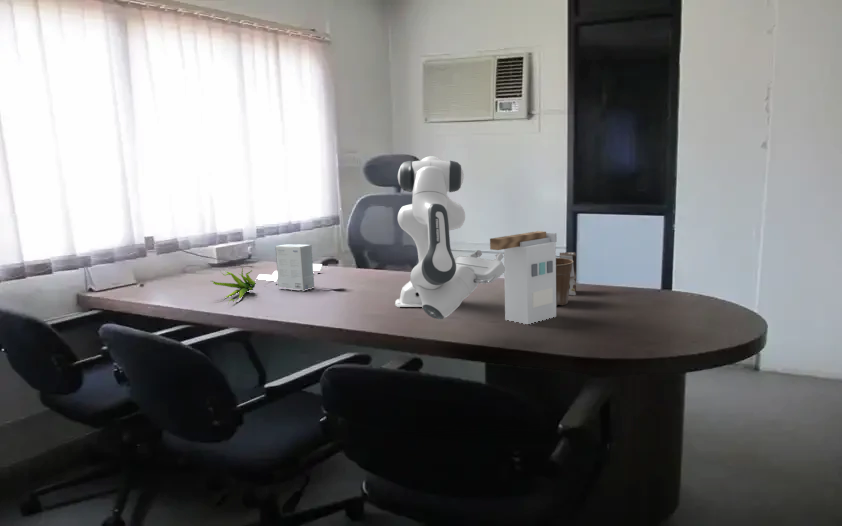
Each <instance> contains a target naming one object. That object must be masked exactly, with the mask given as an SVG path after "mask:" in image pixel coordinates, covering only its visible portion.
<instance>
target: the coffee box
mask: <svg viewBox="0 0 842 526" xmlns="http://www.w3.org/2000/svg"><path fill="white" fill-rule="evenodd" d="M559 258H565V259H570V260H573V261H574V262H573V264H572V271H571V273H570V283H569V295H568V296H576V295H577V254H576V252H575V251H573V252H572V251H570V252H569V251H568V252H567V251H566V252H565V251H564V252H559Z"/></svg>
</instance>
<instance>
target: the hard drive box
mask: <svg viewBox="0 0 842 526" xmlns="http://www.w3.org/2000/svg"><path fill="white" fill-rule="evenodd" d="M274 248H275V257H276V271H277V273H278V288H279V287H286V288H293V289H301V290H305V289H308V288H312V287H314V288H315V278H314V277H315V275H313V264H314V262H313V249H312V244H297V243H295V244H294V243H293V244H288V243H287V244H286V243H285V244H280V245H275V247H274Z"/></svg>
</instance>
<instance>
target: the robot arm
mask: <svg viewBox="0 0 842 526" xmlns="http://www.w3.org/2000/svg"><path fill="white" fill-rule="evenodd" d="M464 178H465V177H464V170H463V168H462V165H461V164H460V163H459V162H457V161H455V160H449V161H448V160H441V158H439V157H437V156H432V155H430V156H429V155H428V156H426V157H423V158H422V159H421V160H415V161H413V160H407V161H403V162H402V163H401V164H400V167H399V169H398V172H397V180H398V181H397V182H398V185H399V186H400V187H399V188H400V189H401V190H403V192H408V193H412V200H411V203H410V204H406V205H403V206H401V208H400V209H399V211H398V213H397V223H398V225H399V227H400V228H401V230H403V231H404V232H405V233H406V234H408V235H409V236H410V237H411V238H412V239H413V242H414V244H415V245H416V251H417V256H418V263H417V264H416V265H415V266H414V267H413V268H412V269H411V271H410V273H409V274H410V275H409V279H410V280H409V281H408V282H406V283H405V284H404V285H403V286H402V288H401V291H400V295H399V298H397V299H396V300H395V303H394V306H395V307H396V308H400V307H422V308H421V309H422V310H423V311H424V313H425V314H427V315H428V316H429V317H431V318H433V319H436V320H443V319H446V318H447V317H448V316H450V315H451V314H452V313H454V312H455V310H456V309H457V308H458V307H460V305H461V304H462V302H463V301H464V299H466V298H468V297H469V296H470V295H471V294H472V293H473V292H474V291H475V290H476V289H477V288H478V287H479V284H482V285H486V284H491V283H493V282H495V281H496V280H498V278H500V277H501V276H502V275H504V272H505V268H504V262H503V261H502V260H503V259H504V253H502V252H497V253H496V254H495V255H494V256H495V258H494V259H487V258H480V257H481V256H482V255H483V252H482V251H481V250H479V249H477V250H475V251H474V252H472V253H470V254H468V255H467V256H466V255H456V256H455V257H454V255H453V253H452V248H451V241H450V238H451V237H450V231H453V230H458V229H460V228H462V226H463V225H464V223H465V220H466V212H465V209H464V207H463V206H462V205H461V204H460V203H458V202H456V201H453V199H451V198H450V197H449V196H448V192H449V193H454V192H457V191H458V192H459V190H460V189H461V188H462V184H463V183H464Z"/></svg>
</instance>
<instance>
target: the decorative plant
mask: <svg viewBox="0 0 842 526" xmlns="http://www.w3.org/2000/svg"><path fill="white" fill-rule="evenodd" d="M243 268H244V267H241V273H239V276H241V278H242V279H241V278H240V277H238V276H237V275H234V273H232V272H230V271H227V270H224V272H225V273H226V274H224V272H222V271H220V273H221V274H222V275H223V276H225V277H226V276H231V277H232V279H233V281H234V282H235V283H233V282H216V281H214V280H211V282H212V283H213V284H214V285H216V286H223V287H227V288H236V290H234V291H232V292H231V293H230V294H228V295H226V296H225V297H228V298H230V297H229V296H231V297H233V296H236V295H237V294H239V296H238V298H241V297H242V296H243V295H244V296H245V294H246V293H245V292H247V291H249V290H253V291H254V288H255V286H256V285H257V284H256V283H255V281H256V280H255V281H254V280H253V279H252V278H251V277H250V275H249V274H251V273H252V272H253V270H250V271H249V272H247V273H245V276H244V273H243V272H244V270H243ZM238 292H239V293H238ZM236 293H237V294H236ZM232 295H233V296H232ZM244 296H243V297H244ZM229 301H232V302H233V303H234V301H236V300H235V299H233V298H231V299H229ZM229 303H230V302H228V304H227V305H229Z"/></svg>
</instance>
